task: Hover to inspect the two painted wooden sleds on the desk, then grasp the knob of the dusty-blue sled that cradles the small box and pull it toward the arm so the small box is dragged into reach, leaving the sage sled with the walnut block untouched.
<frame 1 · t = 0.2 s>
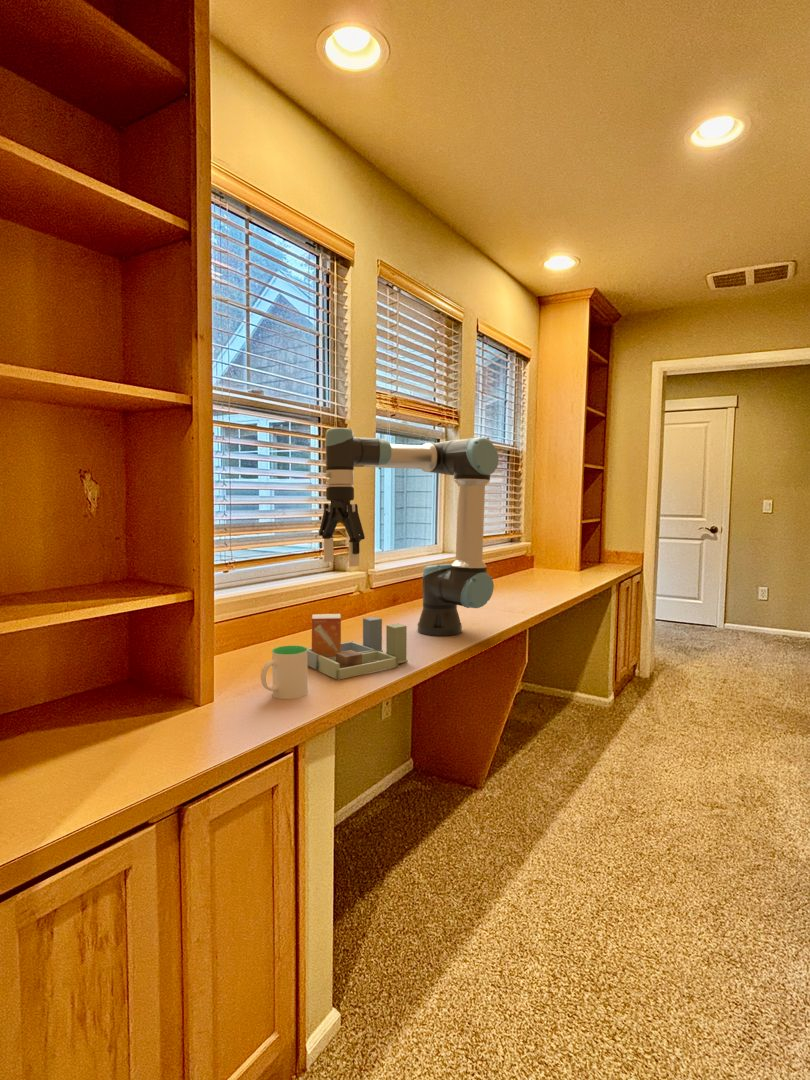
hand: (341, 563, 164), 28 cm above the table, fingers open, 13 cm apart
mug: (284, 696, 139), on the table
sled A: (343, 640, 170), point 5 cm above the table, slide at 0.0 cm
walnut block: (349, 672, 157), resting in sled B
sled B: (366, 648, 160), point 5 cm above the table, slide at 0.0 cm
small box: (326, 662, 167), resting in sled A
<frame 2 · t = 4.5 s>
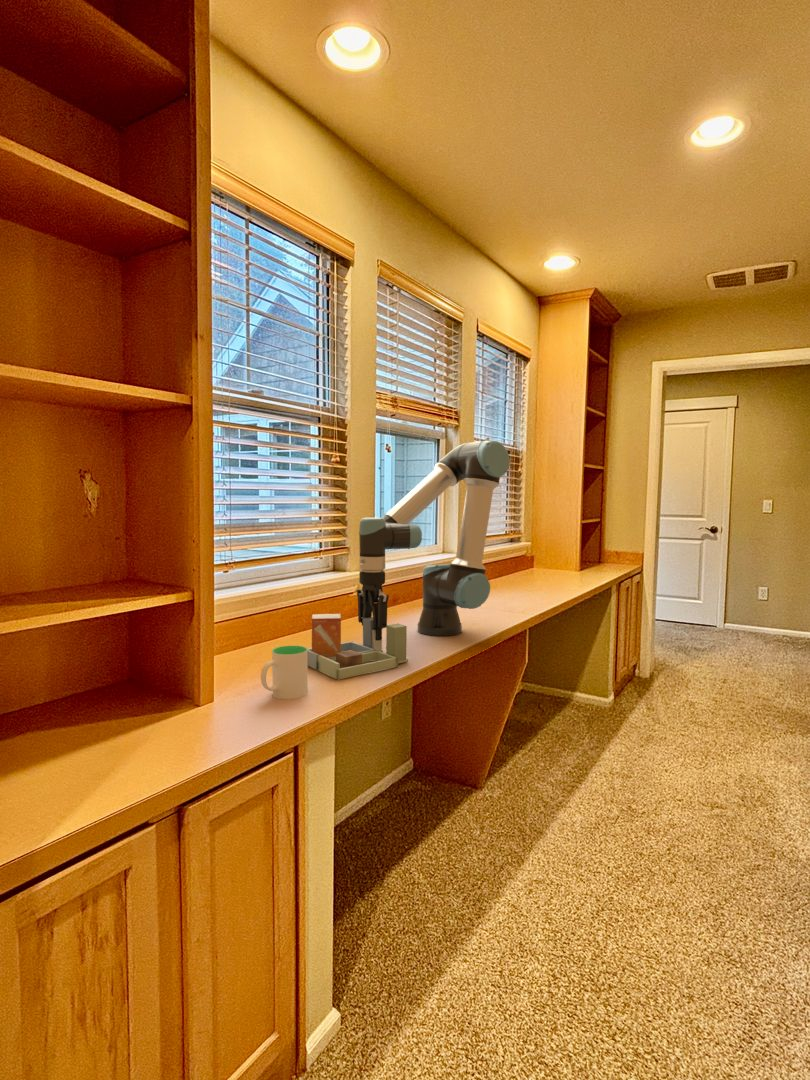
hand: (372, 648, 176), 1 cm above the table, fingers closed on sled A, 4 cm apart
sled A: (343, 640, 170), point 5 cm above the table, slide at 0.0 cm, touching gripper
everything else where it was.
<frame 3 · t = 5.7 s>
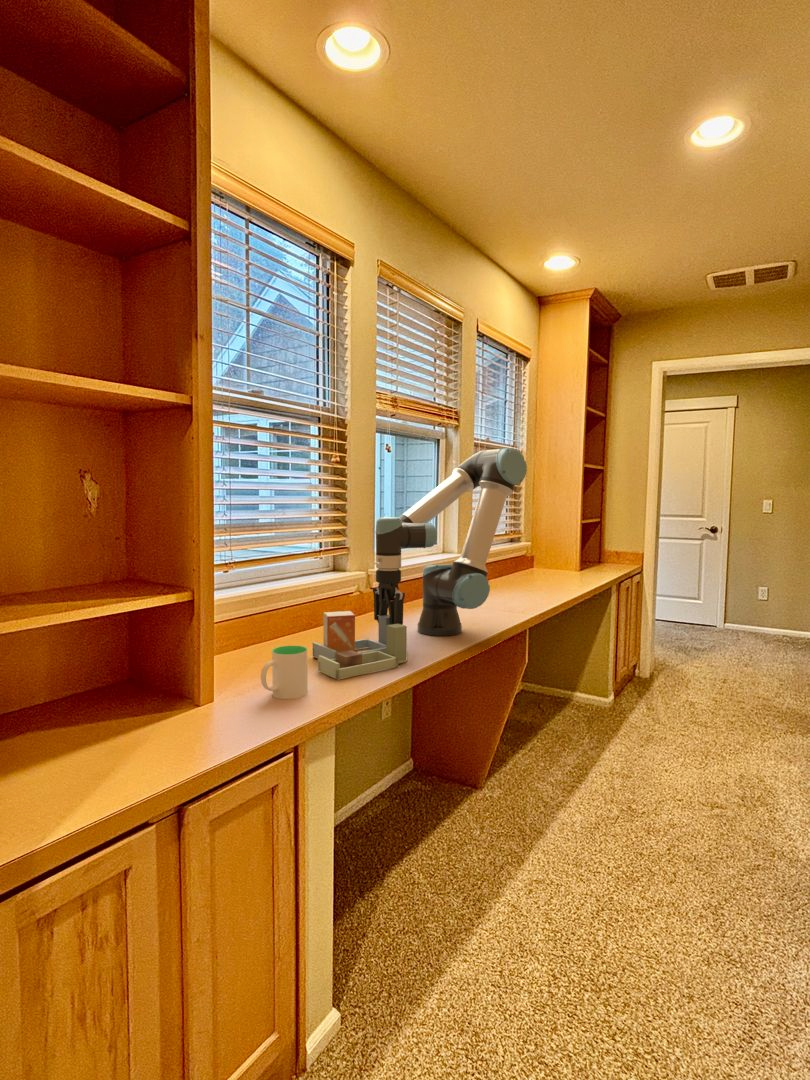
hand: (388, 646, 180), 1 cm above the table, fingers closed on sled A, 4 cm apart
sled A: (359, 637, 173), point 5 cm above the table, slide at 5.6 cm, touching gripper
small box: (339, 659, 170), resting in sled A
everything else where it was.
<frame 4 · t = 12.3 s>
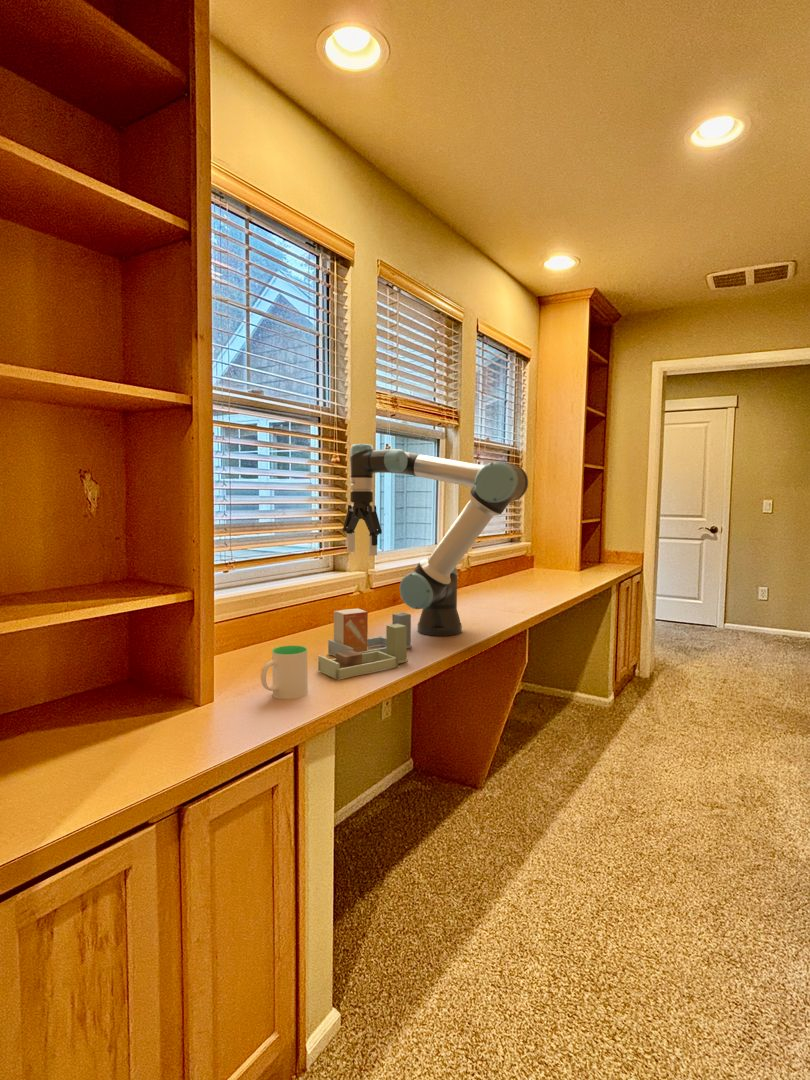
hand: (361, 553, 202), 27 cm above the table, fingers open, 13 cm apart
sled A: (374, 634, 176), point 5 cm above the table, slide at 10.7 cm
small box: (350, 655, 174), resting in sled A
everything else where it was.
at the end: sled A slide at 10.7 cm; small box inside the target area (1.9 cm from its centre), resting in sled A; small box tilted 0° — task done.
